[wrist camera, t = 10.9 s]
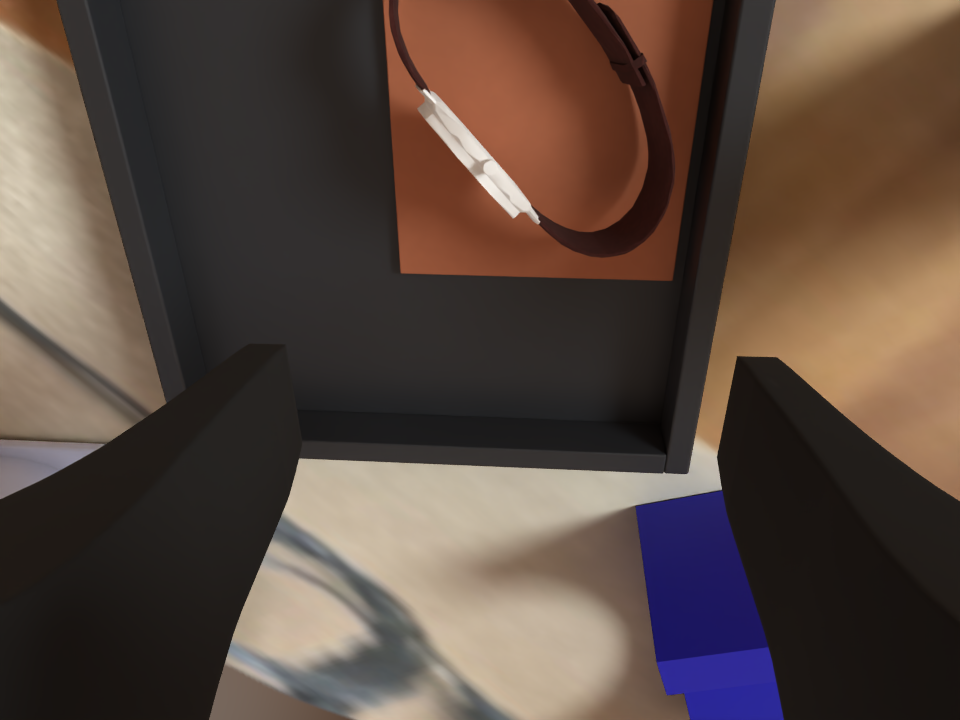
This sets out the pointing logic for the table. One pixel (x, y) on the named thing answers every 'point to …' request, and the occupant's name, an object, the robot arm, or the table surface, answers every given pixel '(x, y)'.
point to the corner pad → (537, 132)
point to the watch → (503, 188)
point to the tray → (387, 244)
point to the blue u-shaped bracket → (705, 612)
